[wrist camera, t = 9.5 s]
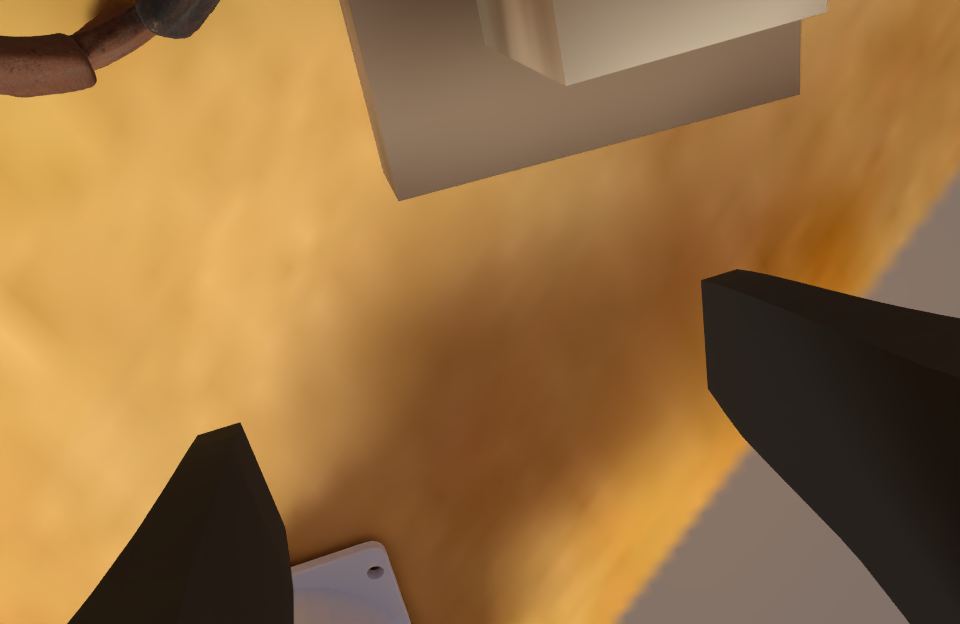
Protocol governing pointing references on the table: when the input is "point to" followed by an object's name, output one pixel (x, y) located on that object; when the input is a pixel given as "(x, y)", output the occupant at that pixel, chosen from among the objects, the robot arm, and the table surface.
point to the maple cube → (622, 30)
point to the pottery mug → (93, 45)
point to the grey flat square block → (531, 93)
